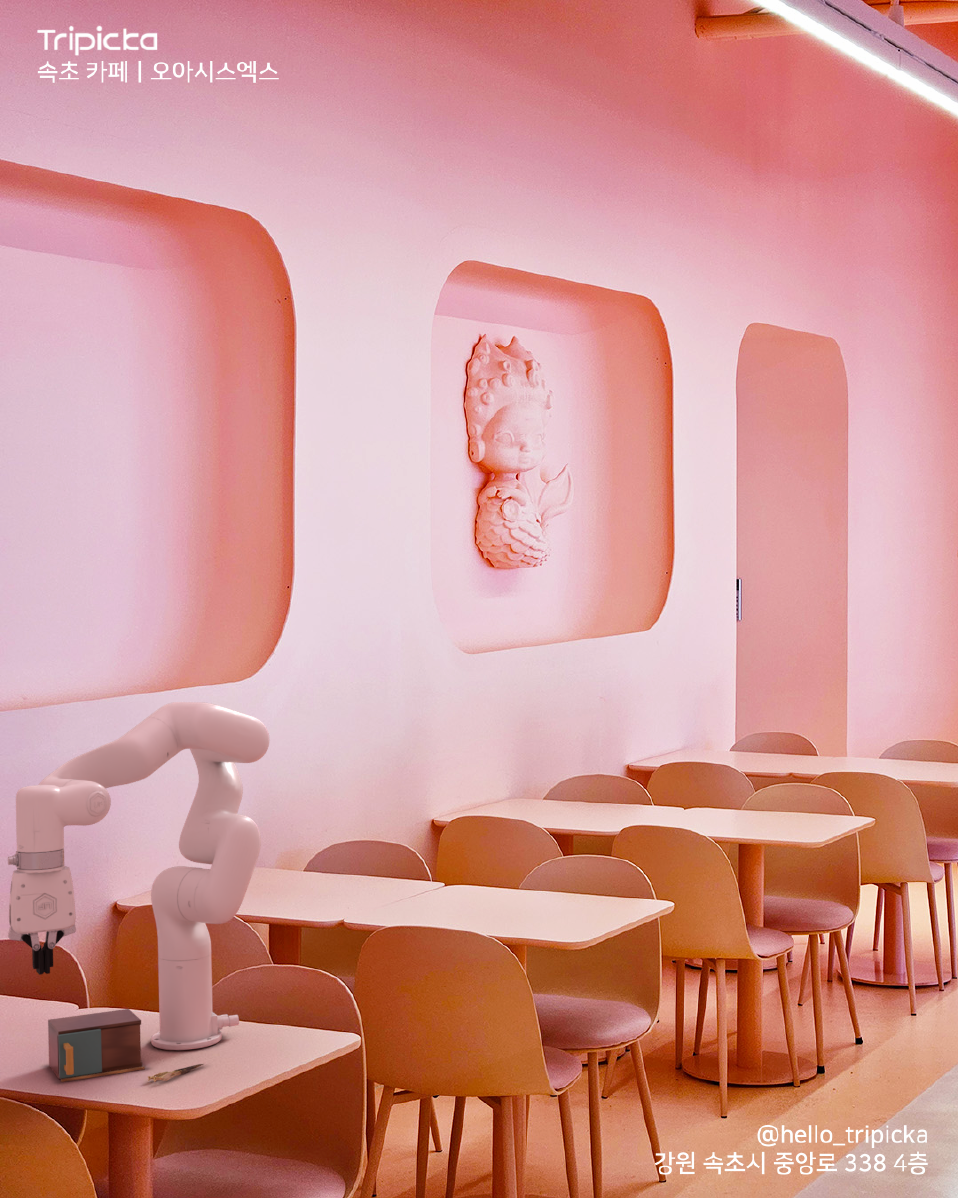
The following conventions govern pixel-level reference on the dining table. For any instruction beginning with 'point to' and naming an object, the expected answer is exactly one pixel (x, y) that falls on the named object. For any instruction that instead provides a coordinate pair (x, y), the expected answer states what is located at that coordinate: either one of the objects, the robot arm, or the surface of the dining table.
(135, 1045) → the cupboard
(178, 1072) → the tan slender tapered piece
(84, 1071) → the door
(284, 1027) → the dining table surface
